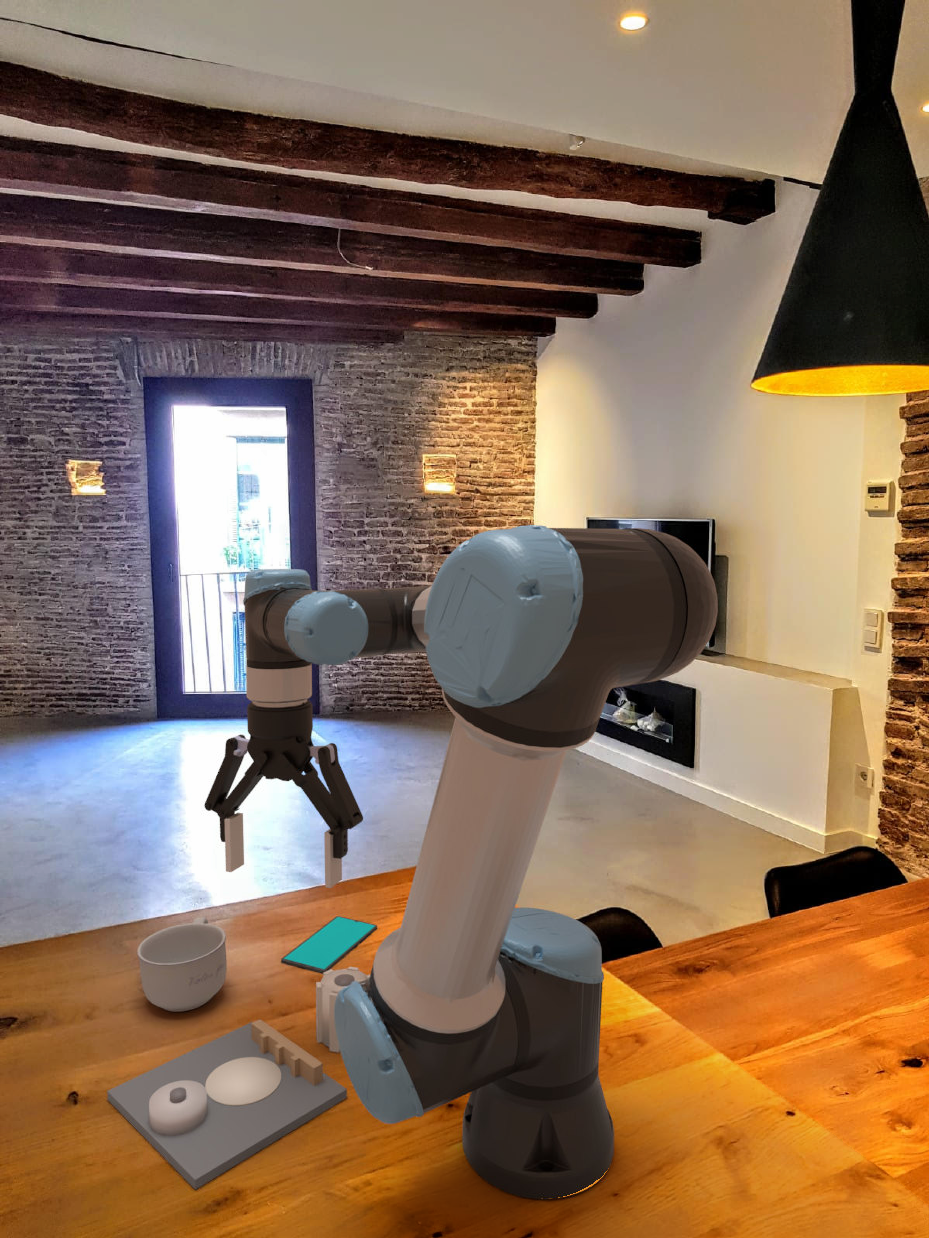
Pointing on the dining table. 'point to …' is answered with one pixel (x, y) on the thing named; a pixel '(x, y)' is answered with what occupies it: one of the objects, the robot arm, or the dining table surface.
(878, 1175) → the dining table surface
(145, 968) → the teacup
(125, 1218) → the dining table surface
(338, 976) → the planet gear
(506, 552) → the robot arm
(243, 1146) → the carrier plate
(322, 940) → the smartphone
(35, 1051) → the dining table surface
